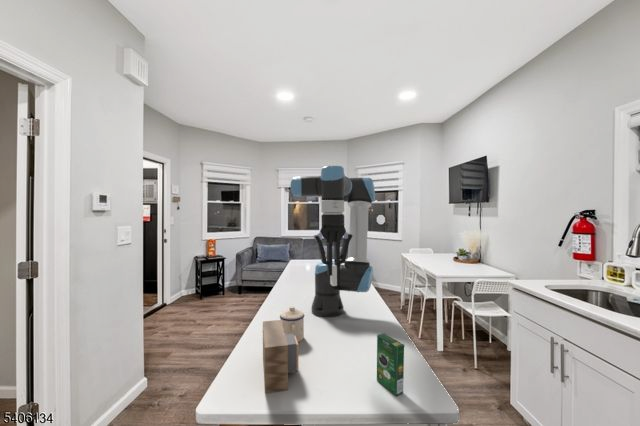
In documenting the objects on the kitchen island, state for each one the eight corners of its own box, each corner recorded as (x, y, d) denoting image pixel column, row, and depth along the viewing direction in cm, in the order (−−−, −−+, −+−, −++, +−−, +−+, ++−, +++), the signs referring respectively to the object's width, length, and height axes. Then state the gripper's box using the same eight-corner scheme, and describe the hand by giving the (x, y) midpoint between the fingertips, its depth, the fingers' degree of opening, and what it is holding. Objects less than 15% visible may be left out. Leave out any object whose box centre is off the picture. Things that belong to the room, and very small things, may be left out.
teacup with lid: (279, 333, 111) (279, 303, 111) (302, 332, 112) (302, 302, 112) (280, 348, 99) (280, 315, 99) (306, 346, 101) (306, 313, 101)
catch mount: (281, 356, 94) (281, 319, 94) (287, 390, 76) (287, 345, 76) (262, 358, 93) (262, 321, 92) (265, 393, 75) (264, 347, 75)
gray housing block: (295, 358, 89) (295, 333, 89) (298, 371, 83) (298, 343, 82) (267, 362, 87) (267, 336, 87) (268, 375, 81) (268, 346, 81)
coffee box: (405, 393, 75) (405, 343, 75) (396, 397, 73) (396, 346, 73) (384, 378, 82) (383, 332, 82) (376, 381, 80) (376, 334, 80)
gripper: (316, 214, 89) (317, 289, 90) (355, 213, 92) (356, 286, 93) (311, 213, 96) (311, 283, 97) (347, 212, 99) (348, 280, 100)
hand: (333, 284), depth 95 cm, fingers closed
